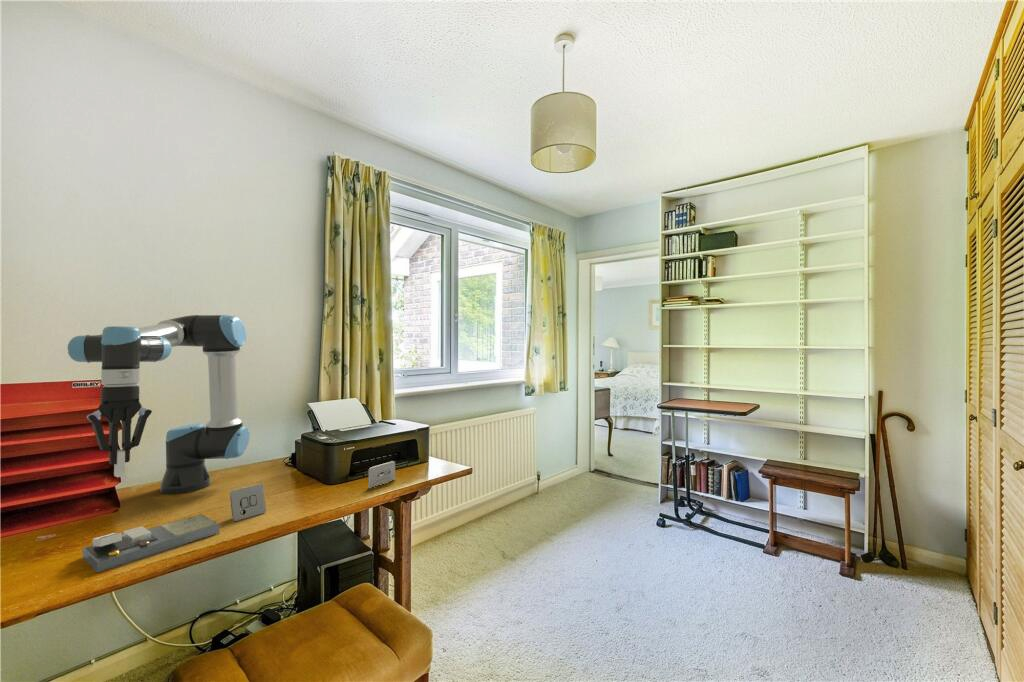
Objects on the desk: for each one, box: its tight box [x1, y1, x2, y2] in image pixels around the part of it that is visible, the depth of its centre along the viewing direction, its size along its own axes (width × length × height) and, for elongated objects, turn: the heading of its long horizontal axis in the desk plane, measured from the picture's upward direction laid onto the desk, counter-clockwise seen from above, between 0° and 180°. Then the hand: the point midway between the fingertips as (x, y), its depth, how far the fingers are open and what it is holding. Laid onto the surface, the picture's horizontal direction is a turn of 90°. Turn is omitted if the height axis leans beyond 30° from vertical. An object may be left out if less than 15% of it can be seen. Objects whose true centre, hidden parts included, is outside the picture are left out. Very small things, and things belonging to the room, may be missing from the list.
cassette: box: [368, 460, 396, 489], centre depth 168 cm, size 12×2×8 cm, turn 145°
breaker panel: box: [81, 513, 220, 574], centre depth 119 cm, size 13×26×4 cm, turn 146°
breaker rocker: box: [92, 532, 123, 546], centre depth 111 cm, size 7×4×2 cm, turn 56°
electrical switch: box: [229, 483, 267, 522], centre depth 139 cm, size 9×5×9 cm, turn 141°
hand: (119, 475), depth 115 cm, fingers closed
